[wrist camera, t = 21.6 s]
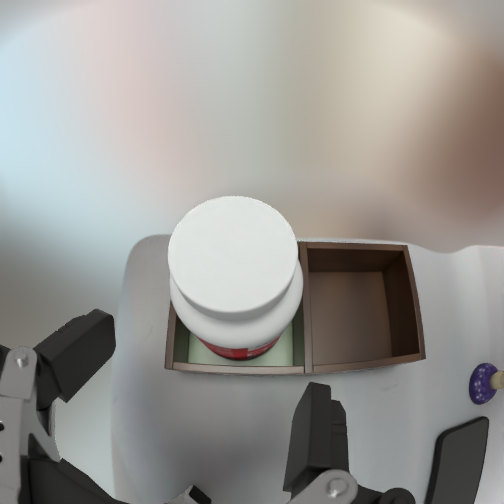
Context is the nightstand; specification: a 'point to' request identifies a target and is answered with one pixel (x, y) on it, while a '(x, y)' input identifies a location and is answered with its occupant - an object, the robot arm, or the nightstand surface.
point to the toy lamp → (485, 383)
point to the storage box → (328, 318)
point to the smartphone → (459, 463)
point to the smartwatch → (191, 497)
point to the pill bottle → (235, 275)
